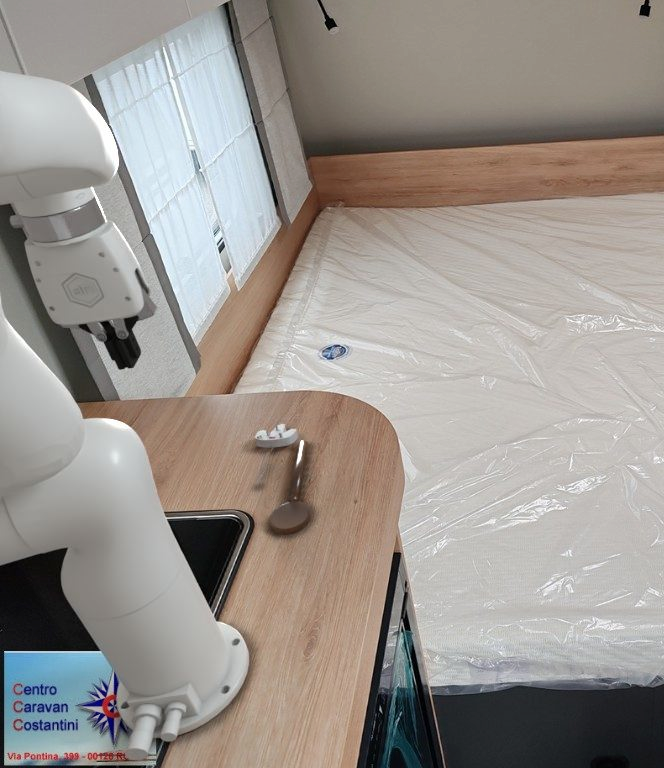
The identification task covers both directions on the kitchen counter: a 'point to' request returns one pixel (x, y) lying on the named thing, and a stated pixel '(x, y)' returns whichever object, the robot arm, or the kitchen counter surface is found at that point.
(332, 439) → the kitchen counter surface
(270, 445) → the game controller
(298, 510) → the spoon
